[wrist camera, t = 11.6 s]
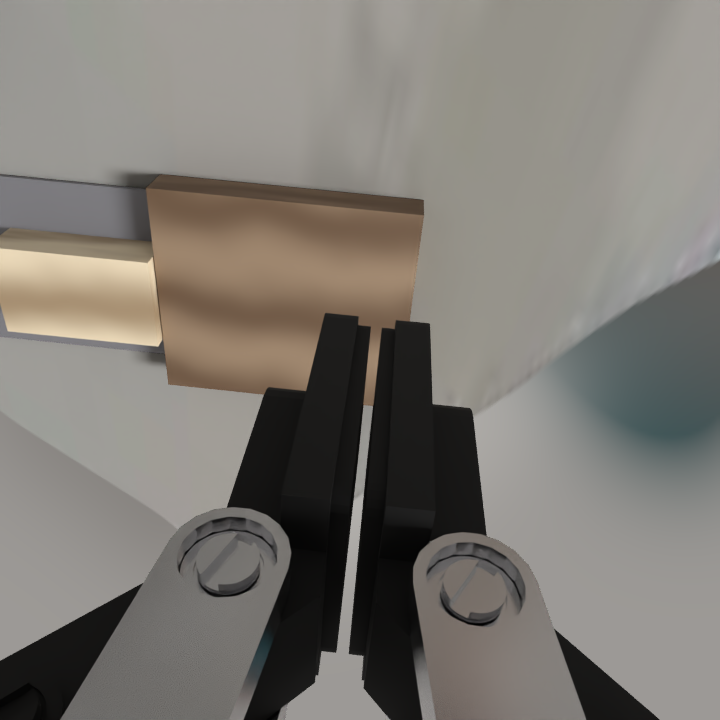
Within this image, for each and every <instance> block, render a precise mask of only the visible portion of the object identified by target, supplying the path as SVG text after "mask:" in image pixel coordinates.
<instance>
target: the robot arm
mask: <svg viewBox="0 0 720 720" xmlns="http://www.w3.org/2000/svg"><path fill="white" fill-rule="evenodd" d="M358 323H359V316H352V315H342V314H332V313H325V315H324V319H323V323H322V327H321V331H320V335H319V339H318V343H317V348H316V352H315V356H314V360H313V364H312V368H311V372H310V377H309V381H308V385H307V389H306V391H301V390H292V389H282V388H273V387H268V388H267V389H266V392H265V394H264V397H263V400H262V403H261V406H260V409H259V412H258V415H257V418H256V421H255V424H254V427H253V430H252V433H251V436H250V439H249V442H248V445H247V448H246V451H245V454H244V457H243V460H242V463H241V466H240V469H239V472H238V475H237V478H236V481H235V484H234V487H233V491H232V494H231V497H230V500H229V503H228V506H227V508H222V509H214V510H211V511H209V512H206V513H203V514H201V515H198V516H196V517H194V518H193V519H191V520H190V521H188V522H187V523H186V524H184V525H183V526H181V527H180V528H179V529H178V531H177V532H176V533H175V534H174V535H173V537H172V538H171V539H170V540H169V542H168V544H167V545H166V547H165V549H164V550H163V552H162V554H161V555H160V557H159V558H158V560H157V562H156V563H155V565H154V566H153V568H152V570H151V571H150V573H149V575H148V576H147V578H146V580H145V581H144V583H142V584H140V585H139V586H137V587H135V588H133V589H131V590H129V591H128V592H126V593H124V594H122V595H120V596H118V597H117V598H115V599H113V600H111V601H109V602H108V603H106V604H104V605H102V606H100V607H98V608H96V609H95V610H93V611H91V612H89V613H87V614H85V615H84V616H82V617H80V618H78V619H76V620H75V621H73V622H71V623H69V624H67V625H65V626H63V627H62V628H60V629H58V630H56V631H54V632H52V633H51V634H49V635H47V636H45V637H43V638H41V639H40V640H38V641H36V642H34V643H32V644H30V645H29V646H27V647H25V648H23V649H21V650H19V651H18V652H16V653H14V654H12V655H10V656H8V657H7V658H5V659H3V660H1V661H0V720H285V716H286V710H287V704H288V703H289V702H290V701H291V700H293V699H294V698H295V697H297V696H298V695H299V694H300V693H302V692H303V691H304V690H306V689H307V688H308V687H310V686H311V685H312V684H314V683H315V676H316V675H318V672H319V665H320V657H321V651H326V652H335V653H336V650H337V641H338V632H339V624H340V615H341V606H342V597H343V588H344V579H345V570H346V562H347V553H348V544H349V535H350V526H351V516H352V507H353V500H354V491H355V482H356V473H357V464H358V454H359V444H360V434H361V424H362V414H363V403H364V393H365V383H366V373H367V363H368V353H369V343H370V332H371V326H362V325H358ZM361 521H362V522H361V531H360V541H359V552H358V562H357V573H356V583H355V594H354V604H353V614H352V625H351V635H350V647H349V654H353V655H362V656H364V658H363V671H362V680H364V689H365V690H366V692H367V693H368V694H369V695H370V696H371V698H372V699H373V700H374V701H375V702H376V703H377V705H378V706H379V707H380V708H381V709H382V711H383V712H384V713H385V714H386V720H659V719H658V718H657V717H656V716H655V715H654V714H652V713H651V712H650V711H649V710H648V709H647V708H646V707H644V706H643V705H642V704H641V703H640V702H638V701H637V700H636V699H635V698H634V697H633V696H632V695H630V694H629V693H628V692H627V691H626V690H624V689H623V688H622V687H621V686H620V685H619V684H618V683H616V682H615V681H614V680H613V679H612V678H611V677H610V676H608V675H607V674H606V673H605V672H604V671H603V670H601V669H600V668H599V667H598V666H597V665H595V664H594V663H593V662H592V661H591V660H590V659H588V658H587V657H586V656H585V655H584V654H583V653H582V652H581V651H579V650H578V649H577V648H576V647H575V646H574V645H572V644H571V643H570V642H569V641H568V640H567V639H565V638H564V637H563V636H562V635H561V634H560V633H559V632H557V631H556V630H555V629H554V627H553V625H552V622H551V619H550V616H549V614H548V610H547V608H546V605H545V602H544V599H543V597H542V594H541V591H540V588H539V585H538V582H537V580H536V578H535V576H534V574H533V572H532V571H531V569H530V567H529V565H528V564H527V563H526V562H525V561H524V560H523V559H522V558H521V557H520V556H519V554H517V553H516V552H515V551H514V550H513V549H511V548H510V547H508V546H507V545H505V544H503V543H502V542H500V541H498V540H496V539H493V538H490V537H487V536H486V527H485V518H484V510H483V500H482V492H481V482H480V474H479V465H478V457H477V447H476V440H475V430H474V421H473V414H472V410H471V409H470V408H463V407H454V406H444V405H435V404H432V374H431V342H430V324H429V323H420V322H410V321H401V320H396V322H395V329H391V328H382V330H381V339H380V348H379V357H378V367H377V376H376V385H375V394H374V403H373V412H372V421H371V431H370V440H369V449H368V458H367V468H366V478H365V489H364V499H363V510H362V520H361Z"/></svg>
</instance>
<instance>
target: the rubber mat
mask: <svg viewBox="0 0 720 720" xmlns="http://www.w3.org/2000/svg"><path fill="white" fill-rule="evenodd" d="M9 228H18V229H28V230H38V231H48V232H58V233H69V234H79V235H89V236H99V237H109V238H120V239H130V240H140V241H150V242H152V237H151V228H150V220H149V211H148V202H147V194H146V189H143V188H133V187H123V186H113V185H102V184H92V183H82V182H72V181H62V180H52V179H42V178H32V177H21V176H11V175H1V174H0V235H1V234H3V233H4V232H5V231H7V230H8V229H9ZM0 337H8V338H18V339H27V340H37V341H46V342H56V343H66V344H75V345H85V346H94V347H104V348H114V349H123V350H133V351H143V352H152V353H162V354H165V350H164V341H163V339H162V341H161V343H160V344H159V346H158V347H157V346H147V345H138V344H128V343H118V342H108V341H98V340H88V339H79V338H69V337H59V336H49V335H39V334H29V333H20V332H10V331H7V327H6V323H5V320H4V316H3V313H2V309H1V305H0Z"/></svg>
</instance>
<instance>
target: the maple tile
mask: <svg viewBox="0 0 720 720" xmlns="http://www.w3.org/2000/svg"><path fill="white" fill-rule="evenodd" d="M0 305H1V309H2V313H3V316H4V320H5V323H6V327H7V331H10V332H20V333H29V334H39V335H49V336H59V337H69V338H79V339H88V340H98V341H108V342H118V343H128V344H138V345H147V346H157V347H158V346H159V344H160V343H161V341H162V339H163V332H162V324H161V315H160V306H159V298H158V289H157V280H156V272H155V263H154V254H153V246H152V242H150V241H140V240H130V239H120V238H109V237H99V236H89V235H79V234H69V233H58V232H48V231H38V230H28V229H18V228H9V229H8V230H7V231H5V232H4V233H3V234H1V235H0Z"/></svg>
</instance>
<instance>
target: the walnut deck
mask: <svg viewBox="0 0 720 720" xmlns="http://www.w3.org/2000/svg"><path fill="white" fill-rule="evenodd" d="M146 194H147V202H148V211H149V220H150V228H151V237H152V246H153V254H154V263H155V272H156V280H157V289H158V298H159V306H160V315H161V324H162V332H163V341H164V350H165V358H166V367H167V376H168V384H170V385H179V386H189V387H198V388H208V389H217V390H227V391H236V392H246V393H255V394H265V392H266V389H267V388H268V387H273V388H282V389H292V390H301V391H306V389H307V385H308V381H309V377H310V372H311V368H312V364H313V360H314V356H315V352H316V348H317V343H318V339H319V335H320V331H321V327H322V323H323V319H324V315H325V313H332V314H342V315H352V316H359V323H358V325H362V326H371V332H370V343H369V353H368V363H367V373H366V383H365V393H364V403H363V405H370V406H373V403H374V394H375V385H376V376H377V367H378V357H379V348H380V339H381V330H382V328H391V329H395V322H396V320H401V321H410V313H411V306H412V299H413V291H414V284H415V277H416V269H417V262H418V255H419V247H420V240H421V233H422V225H423V218H424V200H417V199H407V198H396V197H386V196H376V195H366V194H356V193H345V192H335V191H325V190H315V189H305V188H295V187H284V186H274V185H264V184H254V183H244V182H233V181H223V180H213V179H203V178H193V177H183V176H172V175H162V174H160V175H159V176H158V177H157V178H156V179H155V180H154V181H153V182H152V183H151V184H150V185H149V186H147V187H146Z"/></svg>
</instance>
